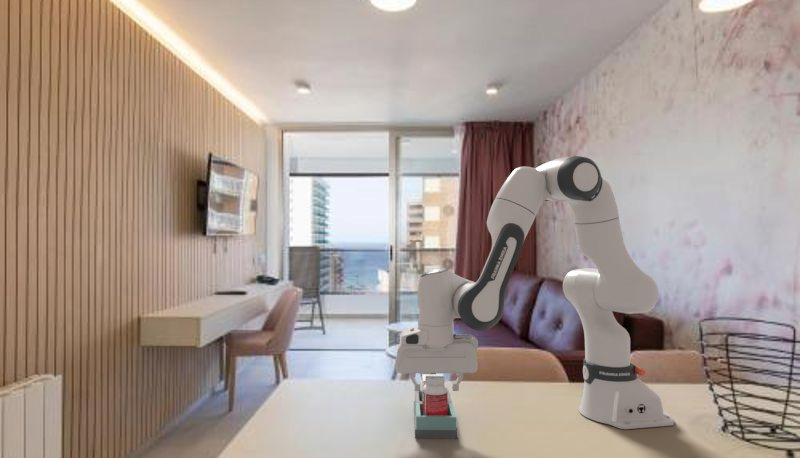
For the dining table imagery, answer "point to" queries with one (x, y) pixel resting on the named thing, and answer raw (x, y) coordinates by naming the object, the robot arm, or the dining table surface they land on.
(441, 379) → the pill bottle
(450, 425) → the teal tray with block
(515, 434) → the dining table surface
